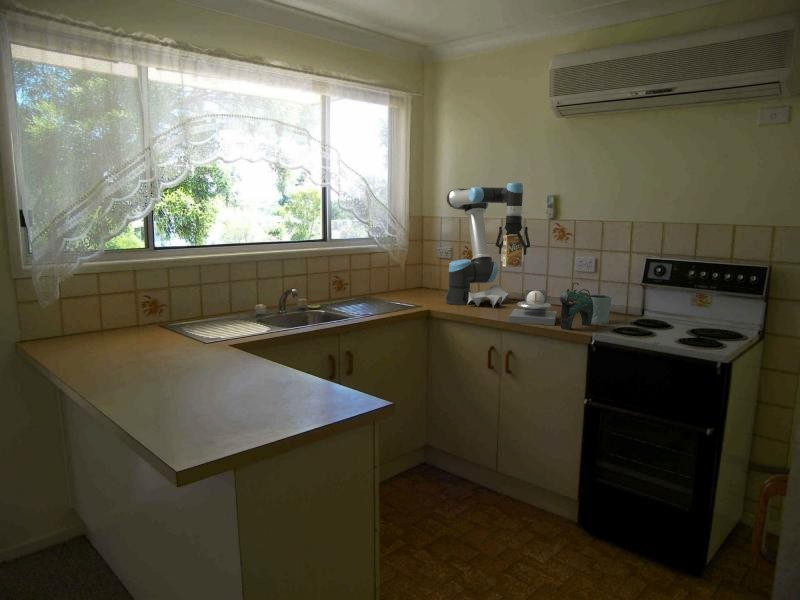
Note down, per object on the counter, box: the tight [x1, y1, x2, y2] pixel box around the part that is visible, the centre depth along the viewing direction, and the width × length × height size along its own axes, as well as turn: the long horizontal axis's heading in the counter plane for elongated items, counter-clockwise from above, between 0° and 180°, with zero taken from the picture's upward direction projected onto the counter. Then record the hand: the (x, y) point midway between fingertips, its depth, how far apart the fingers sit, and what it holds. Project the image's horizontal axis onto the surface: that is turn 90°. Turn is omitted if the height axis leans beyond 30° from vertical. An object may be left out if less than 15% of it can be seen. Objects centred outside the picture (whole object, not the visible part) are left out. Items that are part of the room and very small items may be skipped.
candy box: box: [502, 234, 524, 268], centre depth 284 cm, size 9×4×15 cm, turn 107°
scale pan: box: [516, 300, 552, 310], centre depth 270 cm, size 15×15×2 cm
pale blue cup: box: [590, 294, 613, 324], centre depth 267 cm, size 10×10×12 cm
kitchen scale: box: [508, 288, 558, 326], centre depth 270 cm, size 20×20×13 cm
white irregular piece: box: [466, 284, 510, 308], centre depth 313 cm, size 25×19×10 cm
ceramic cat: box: [559, 282, 593, 331], centre depth 254 cm, size 20×6×20 cm, turn 126°
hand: (512, 261), depth 285 cm, fingers closed on candy box, 9 cm apart
